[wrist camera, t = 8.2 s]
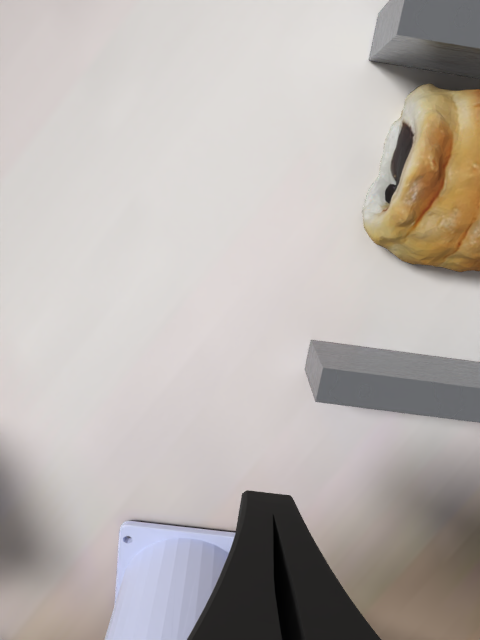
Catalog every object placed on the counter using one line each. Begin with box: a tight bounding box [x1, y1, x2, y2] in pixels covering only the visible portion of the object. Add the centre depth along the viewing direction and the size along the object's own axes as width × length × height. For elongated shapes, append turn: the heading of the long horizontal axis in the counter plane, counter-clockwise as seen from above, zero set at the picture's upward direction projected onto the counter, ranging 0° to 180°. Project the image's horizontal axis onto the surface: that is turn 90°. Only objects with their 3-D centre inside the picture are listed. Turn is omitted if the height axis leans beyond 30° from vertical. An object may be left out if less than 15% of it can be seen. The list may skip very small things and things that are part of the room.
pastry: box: [362, 84, 480, 272], centre depth 17 cm, size 9×7×4 cm
